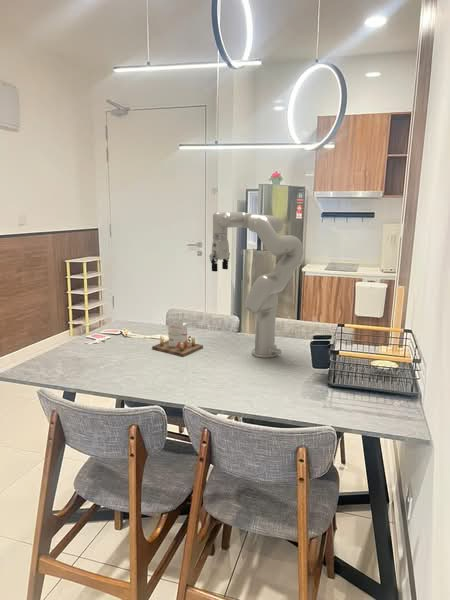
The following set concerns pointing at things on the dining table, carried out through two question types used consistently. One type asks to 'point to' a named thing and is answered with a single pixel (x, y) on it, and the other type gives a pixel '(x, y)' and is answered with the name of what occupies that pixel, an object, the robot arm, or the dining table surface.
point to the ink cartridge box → (177, 332)
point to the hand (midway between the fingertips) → (219, 270)
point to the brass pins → (180, 343)
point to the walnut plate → (177, 349)
